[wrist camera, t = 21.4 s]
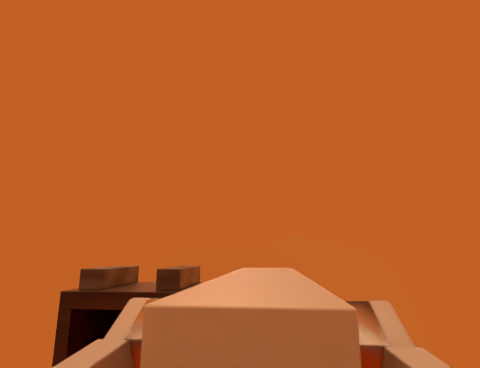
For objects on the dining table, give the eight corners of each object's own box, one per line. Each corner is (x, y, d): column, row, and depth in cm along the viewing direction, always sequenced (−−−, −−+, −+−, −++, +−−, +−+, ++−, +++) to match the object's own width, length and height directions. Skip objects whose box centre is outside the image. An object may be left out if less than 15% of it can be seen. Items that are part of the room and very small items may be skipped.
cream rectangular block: (370, 472, 5) (357, 307, 6) (133, 456, 5) (142, 304, 6) (293, 301, 24) (292, 267, 25) (242, 300, 25) (242, 267, 25)
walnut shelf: (176, 494, 32) (183, 269, 37) (38, 484, 33) (63, 269, 38) (203, 426, 44) (206, 266, 49) (102, 421, 46) (115, 266, 51)
